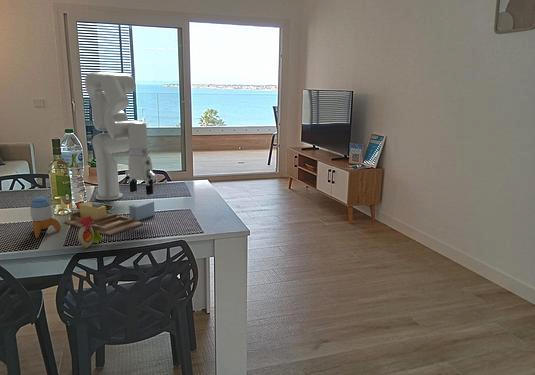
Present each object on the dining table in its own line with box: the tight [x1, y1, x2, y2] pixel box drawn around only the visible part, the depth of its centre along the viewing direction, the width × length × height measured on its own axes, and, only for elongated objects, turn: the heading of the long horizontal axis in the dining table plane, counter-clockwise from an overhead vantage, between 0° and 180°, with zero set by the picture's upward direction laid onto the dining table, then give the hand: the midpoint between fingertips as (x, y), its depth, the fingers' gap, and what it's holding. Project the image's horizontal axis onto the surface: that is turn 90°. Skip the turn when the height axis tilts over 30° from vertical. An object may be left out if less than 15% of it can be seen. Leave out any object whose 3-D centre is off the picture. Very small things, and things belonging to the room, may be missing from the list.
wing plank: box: [128, 200, 156, 222], centre depth 180 cm, size 4×10×6 cm, turn 148°
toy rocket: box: [29, 196, 62, 239], centre depth 159 cm, size 10×11×15 cm
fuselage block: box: [78, 201, 108, 220], centre depth 173 cm, size 12×4×7 cm, turn 58°
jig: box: [63, 210, 144, 237], centre depth 171 cm, size 28×16×3 cm, turn 58°
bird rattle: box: [77, 216, 104, 249], centre depth 147 cm, size 6×11×9 cm
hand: (141, 192), depth 177 cm, fingers open, 9 cm apart
